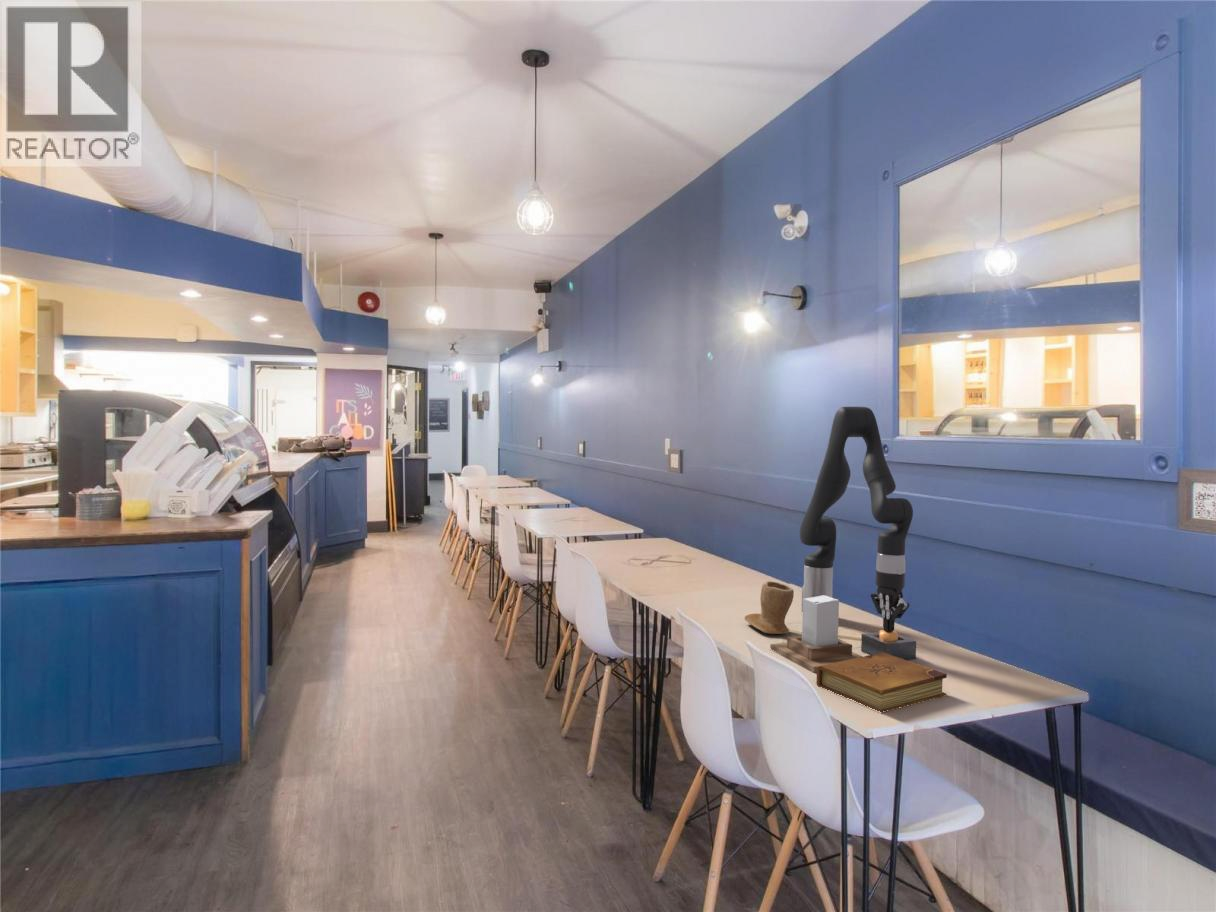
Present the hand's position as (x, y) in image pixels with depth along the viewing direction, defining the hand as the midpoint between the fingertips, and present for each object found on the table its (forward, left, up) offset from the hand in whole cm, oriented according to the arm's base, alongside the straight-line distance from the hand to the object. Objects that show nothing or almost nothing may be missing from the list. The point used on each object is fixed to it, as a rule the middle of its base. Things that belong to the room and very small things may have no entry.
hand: (888, 631), depth 193 cm
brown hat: (-31, -18, -7) cm, 36 cm away
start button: (0, 0, -4) cm, 4 cm away
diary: (+21, -21, -7) cm, 31 cm away
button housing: (0, 0, -7) cm, 7 cm away
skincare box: (-4, -20, -5) cm, 21 cm away
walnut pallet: (-4, -20, -7) cm, 21 cm away
